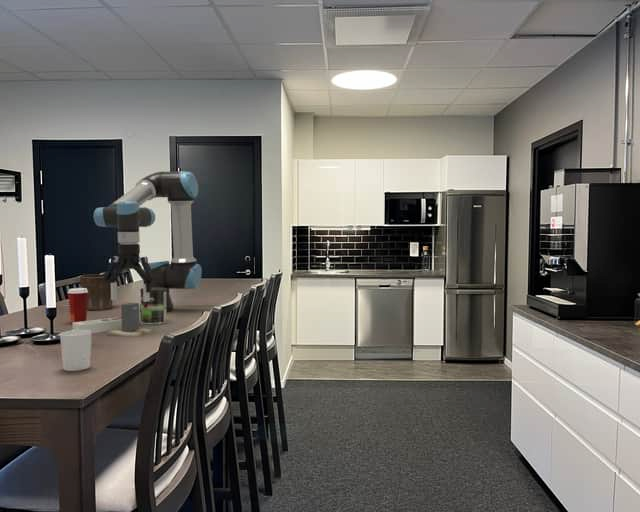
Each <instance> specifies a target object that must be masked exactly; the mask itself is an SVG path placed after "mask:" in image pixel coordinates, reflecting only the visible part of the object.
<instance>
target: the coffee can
mask: <svg viewBox="0 0 640 512" xmlns="http://www.w3.org/2000/svg"><path fill="white" fill-rule="evenodd" d="M139 290H140V305H141V312H140V324H142V325H149V326H151V325H154V326H155V325H161V324H162V323H163V324H166V323H167V322H168V321H167V312H166V290H167V288H162V287H151V292H149V295H150V301H147V302H144V294H143V287H142V288H140V289H139Z"/></svg>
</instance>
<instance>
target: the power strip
mask: <svg viewBox="0 0 640 512" xmlns="http://www.w3.org/2000/svg"><path fill="white" fill-rule="evenodd" d="M71 325H72V328H71V329H72V330H90V331H91V332H92V333H91V335H92V334H97V333H98V334H99V333H107V332H111V331H114V330H117V329H120V328H122V315H121V316H118V317H110V318H100V319H93V320H86V321H82V322H74V323H72V324H71Z"/></svg>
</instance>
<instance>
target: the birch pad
mask: <svg viewBox="0 0 640 512" xmlns="http://www.w3.org/2000/svg"><path fill="white" fill-rule="evenodd" d="M154 329H155V328H154V327H139V330H136V331H133V332H122V328H120V329H117V330H114V331H107V332H105V336H113V337H115V336H116V337H128V338H129V337H132V338H136V337H139V336H141V335H145V334H148V333H150V332H153V331H154Z"/></svg>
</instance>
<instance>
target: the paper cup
mask: <svg viewBox="0 0 640 512" xmlns="http://www.w3.org/2000/svg"><path fill="white" fill-rule="evenodd" d="M87 292H88V291H87V288H82V287H77V288H76V287H74V288H70V289H68V291H67V294H68V303H69V315H70V324H71V325H72V323H74V322H82V321H87V316H88V315H87V314H88V313H87V312H88V310H87Z"/></svg>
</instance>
